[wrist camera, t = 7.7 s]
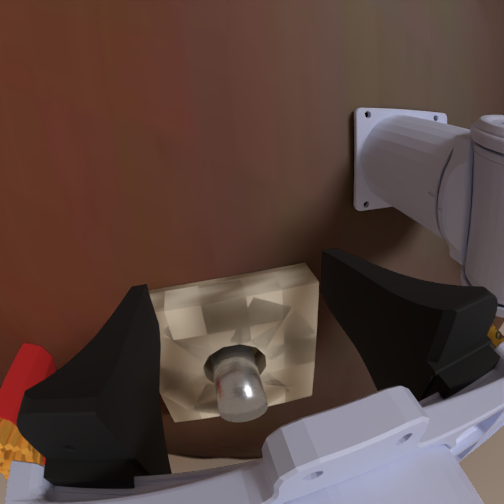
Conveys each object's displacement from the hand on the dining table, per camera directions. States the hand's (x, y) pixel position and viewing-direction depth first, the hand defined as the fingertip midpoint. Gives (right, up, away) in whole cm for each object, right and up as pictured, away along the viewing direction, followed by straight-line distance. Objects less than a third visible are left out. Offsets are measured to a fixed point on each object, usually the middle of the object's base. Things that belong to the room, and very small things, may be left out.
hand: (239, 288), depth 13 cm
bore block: (-1, -7, +15) cm, 17 cm away
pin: (-1, -7, +15) cm, 16 cm away
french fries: (-21, -10, +13) cm, 26 cm away
